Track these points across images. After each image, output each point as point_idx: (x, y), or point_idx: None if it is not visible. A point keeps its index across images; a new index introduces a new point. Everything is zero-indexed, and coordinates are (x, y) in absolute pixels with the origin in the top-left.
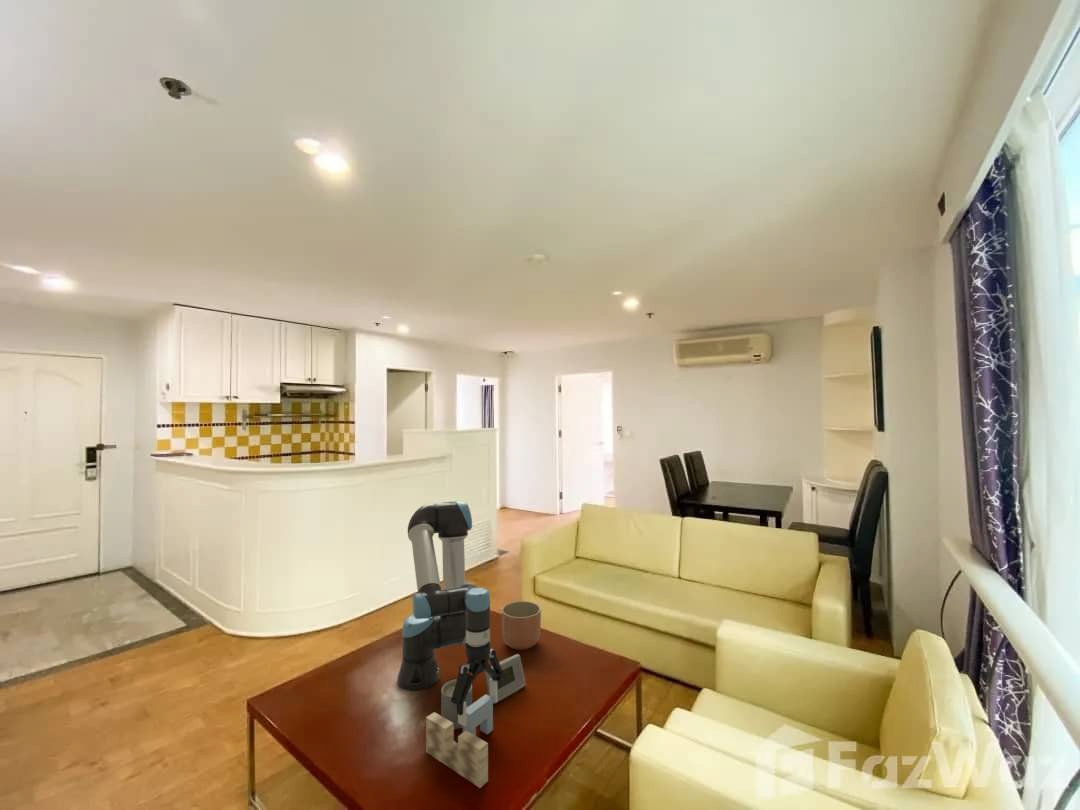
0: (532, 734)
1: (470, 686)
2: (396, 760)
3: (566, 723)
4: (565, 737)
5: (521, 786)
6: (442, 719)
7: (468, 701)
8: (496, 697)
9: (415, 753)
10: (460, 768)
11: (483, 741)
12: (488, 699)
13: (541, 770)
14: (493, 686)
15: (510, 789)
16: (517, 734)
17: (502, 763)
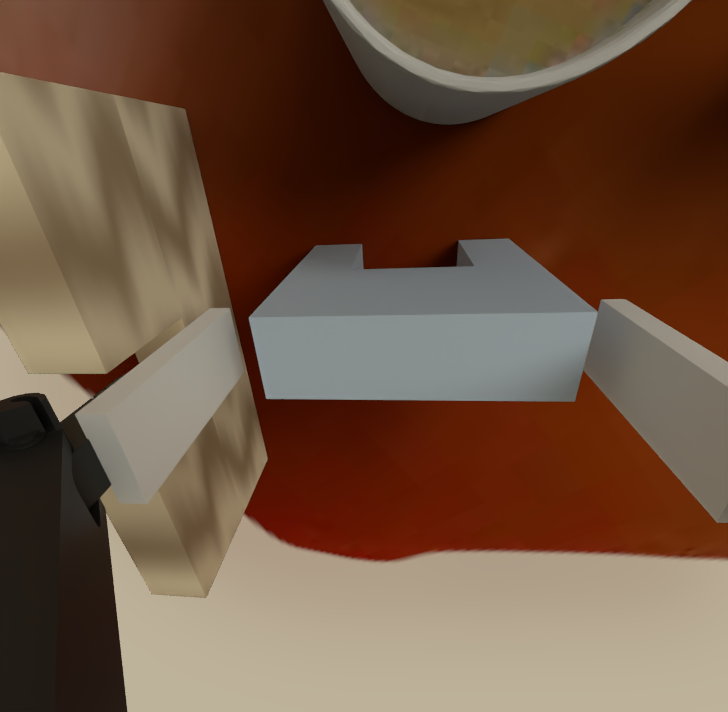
0: (570, 452)
1: (120, 694)
2: None
3: (707, 516)
4: (613, 541)
5: (330, 534)
6: (30, 263)
7: (498, 106)
8: (614, 395)
9: (66, 63)
10: None
11: (194, 581)
12: (527, 389)
13: (420, 546)
14: (680, 436)
15: (299, 519)
16: (537, 406)
17: (359, 450)
